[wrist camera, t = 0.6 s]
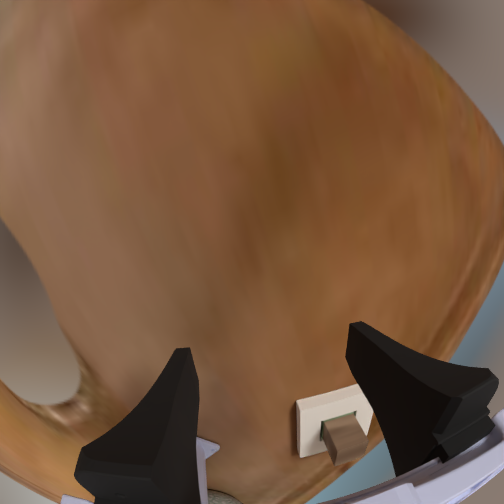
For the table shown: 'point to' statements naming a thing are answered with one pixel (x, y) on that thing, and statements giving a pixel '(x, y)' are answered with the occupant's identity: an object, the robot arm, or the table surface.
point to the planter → (221, 498)
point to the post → (344, 438)
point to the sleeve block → (328, 416)
